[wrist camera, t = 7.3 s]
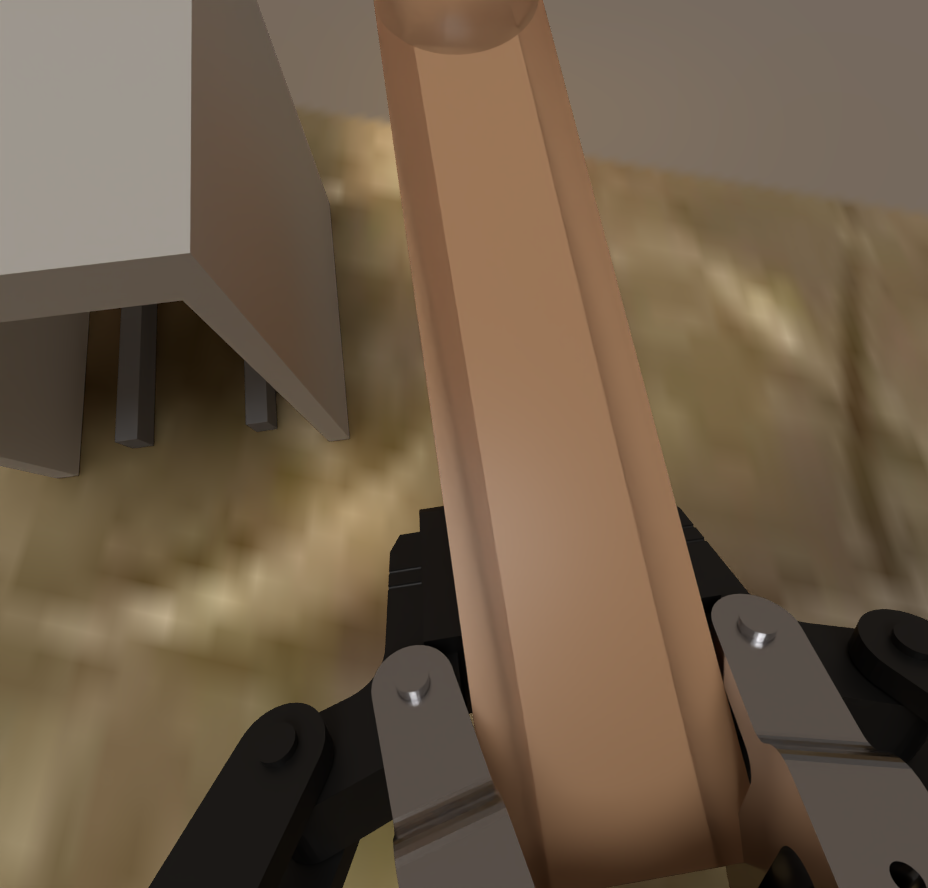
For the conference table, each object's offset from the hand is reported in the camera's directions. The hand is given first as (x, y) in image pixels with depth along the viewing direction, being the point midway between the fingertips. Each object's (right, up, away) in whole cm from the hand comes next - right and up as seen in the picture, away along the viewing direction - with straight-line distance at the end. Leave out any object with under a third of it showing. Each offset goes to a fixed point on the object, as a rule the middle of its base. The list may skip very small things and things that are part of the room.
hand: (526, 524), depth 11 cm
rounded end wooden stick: (-1, +3, +5) cm, 6 cm away
